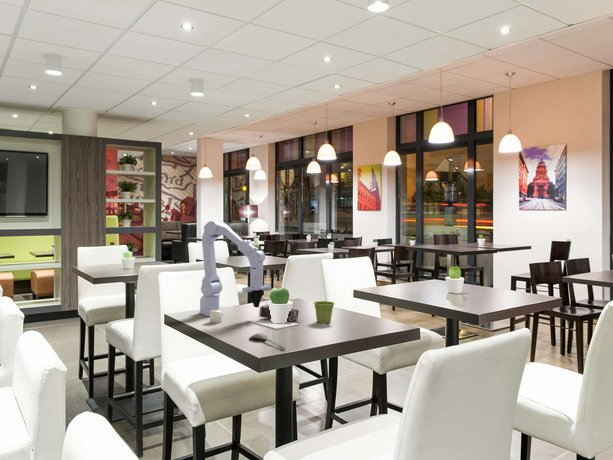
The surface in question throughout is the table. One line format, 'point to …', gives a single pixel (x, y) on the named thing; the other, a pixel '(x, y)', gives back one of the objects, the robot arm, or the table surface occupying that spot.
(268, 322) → the mat
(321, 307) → the plant pot
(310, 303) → the table surface
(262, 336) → the soupspoon
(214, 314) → the white small cube
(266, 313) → the supplement box
